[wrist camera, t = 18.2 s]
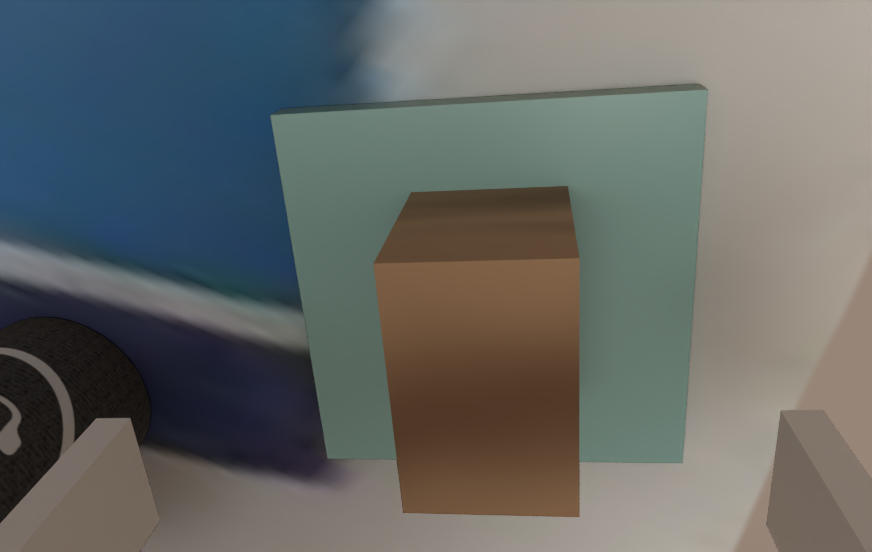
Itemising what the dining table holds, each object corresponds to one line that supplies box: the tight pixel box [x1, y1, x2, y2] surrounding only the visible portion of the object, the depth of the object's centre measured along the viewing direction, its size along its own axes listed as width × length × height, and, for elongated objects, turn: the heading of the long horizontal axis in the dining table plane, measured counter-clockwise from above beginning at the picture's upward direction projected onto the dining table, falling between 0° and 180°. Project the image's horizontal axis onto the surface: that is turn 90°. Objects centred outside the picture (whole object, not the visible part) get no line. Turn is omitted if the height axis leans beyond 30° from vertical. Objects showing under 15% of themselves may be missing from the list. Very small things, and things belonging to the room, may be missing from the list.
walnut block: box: [373, 186, 580, 517], centre depth 19 cm, size 7×4×6 cm, turn 4°
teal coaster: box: [270, 84, 708, 463], centre depth 22 cm, size 12×12×1 cm
